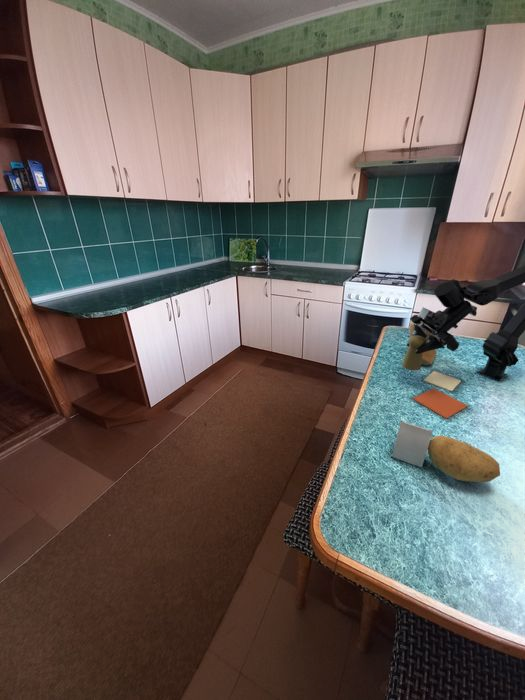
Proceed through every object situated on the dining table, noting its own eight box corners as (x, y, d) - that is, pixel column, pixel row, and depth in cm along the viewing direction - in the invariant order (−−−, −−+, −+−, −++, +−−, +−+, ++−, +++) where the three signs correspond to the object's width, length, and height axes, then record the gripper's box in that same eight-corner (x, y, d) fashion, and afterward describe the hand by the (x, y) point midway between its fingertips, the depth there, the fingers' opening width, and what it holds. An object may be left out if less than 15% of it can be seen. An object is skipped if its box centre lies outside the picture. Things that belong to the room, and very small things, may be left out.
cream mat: (433, 371, 108) (434, 370, 107) (461, 381, 101) (461, 380, 101) (423, 380, 102) (423, 379, 102) (451, 391, 96) (451, 390, 96)
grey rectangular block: (421, 467, 69) (432, 436, 65) (391, 456, 73) (399, 426, 68) (423, 457, 72) (433, 426, 68) (394, 447, 75) (401, 417, 71)
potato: (490, 504, 61) (504, 478, 57) (418, 471, 69) (426, 446, 65) (493, 473, 68) (506, 448, 64) (427, 446, 75) (435, 422, 72)
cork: (423, 371, 96) (431, 341, 91) (403, 369, 97) (410, 340, 92) (418, 362, 101) (425, 333, 96) (400, 361, 103) (406, 332, 98)
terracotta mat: (433, 389, 98) (433, 388, 98) (467, 406, 89) (467, 405, 89) (412, 399, 93) (412, 398, 93) (446, 419, 85) (446, 418, 84)
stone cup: (407, 346, 126) (415, 313, 120) (438, 353, 120) (448, 319, 113) (397, 359, 116) (404, 324, 109) (429, 368, 109) (440, 332, 102)
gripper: (421, 291, 97) (384, 324, 101) (461, 309, 81) (415, 348, 85) (437, 312, 102) (401, 342, 106) (478, 333, 85) (433, 368, 89)
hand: (411, 349), depth 96 cm, fingers closed on cork, 5 cm apart
